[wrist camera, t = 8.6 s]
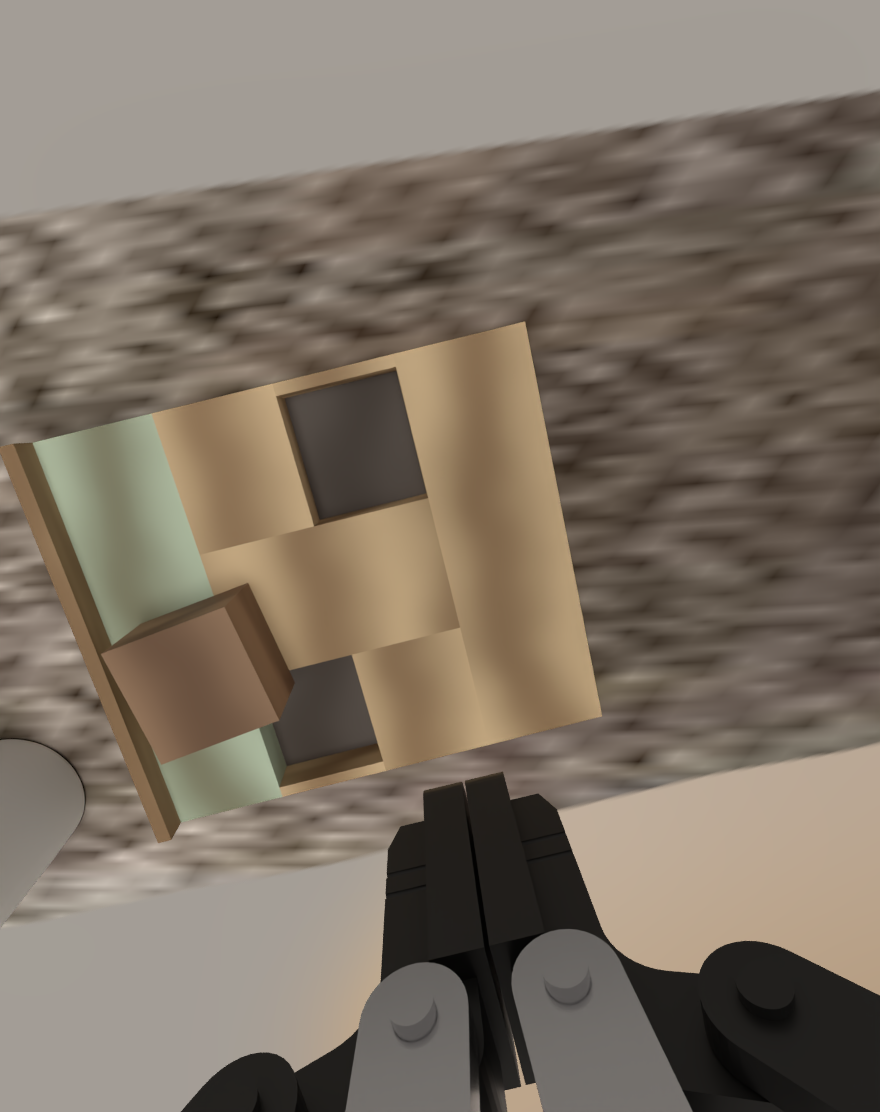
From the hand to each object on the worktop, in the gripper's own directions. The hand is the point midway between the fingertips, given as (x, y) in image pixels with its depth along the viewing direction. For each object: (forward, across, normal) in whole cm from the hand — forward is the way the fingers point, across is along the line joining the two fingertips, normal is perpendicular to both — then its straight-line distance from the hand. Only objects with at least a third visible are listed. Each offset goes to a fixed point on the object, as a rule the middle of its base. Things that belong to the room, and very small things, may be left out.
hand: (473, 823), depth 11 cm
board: (+18, +4, -1) cm, 18 cm away
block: (+16, +10, 0) cm, 19 cm away
